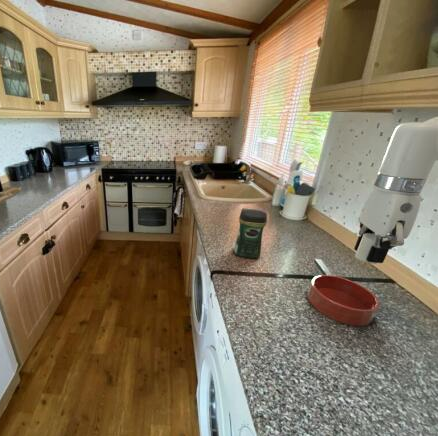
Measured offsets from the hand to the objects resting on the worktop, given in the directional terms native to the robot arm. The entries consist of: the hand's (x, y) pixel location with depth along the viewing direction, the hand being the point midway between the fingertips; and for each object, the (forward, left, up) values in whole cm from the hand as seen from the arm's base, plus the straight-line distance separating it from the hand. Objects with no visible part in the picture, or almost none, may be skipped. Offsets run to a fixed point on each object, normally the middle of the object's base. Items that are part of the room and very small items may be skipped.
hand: (367, 255), depth 59 cm
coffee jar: (+22, -28, -19) cm, 40 cm away
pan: (0, -4, -19) cm, 19 cm away
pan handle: (0, -17, -16) cm, 23 cm away
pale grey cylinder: (0, 0, -1) cm, 1 cm away
